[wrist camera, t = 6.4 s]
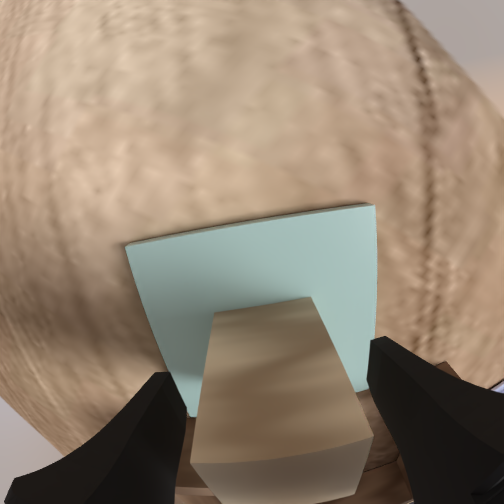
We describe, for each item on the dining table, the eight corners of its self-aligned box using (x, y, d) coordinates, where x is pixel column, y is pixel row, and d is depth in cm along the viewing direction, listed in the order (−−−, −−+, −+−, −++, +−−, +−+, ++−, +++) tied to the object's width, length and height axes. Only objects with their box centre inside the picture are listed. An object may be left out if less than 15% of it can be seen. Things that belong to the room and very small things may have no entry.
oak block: (310, 296, 11) (374, 436, 5) (315, 368, 12) (354, 494, 6) (214, 312, 11) (190, 463, 5) (233, 381, 13) (230, 512, 6)
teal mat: (368, 203, 11) (374, 205, 10) (365, 382, 14) (368, 389, 13) (130, 242, 11) (124, 246, 10) (191, 409, 14) (190, 417, 13)
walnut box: (446, 360, 14) (487, 410, 9) (404, 461, 18) (420, 499, 13) (161, 417, 14) (144, 485, 9) (219, 498, 19) (217, 540, 14)
